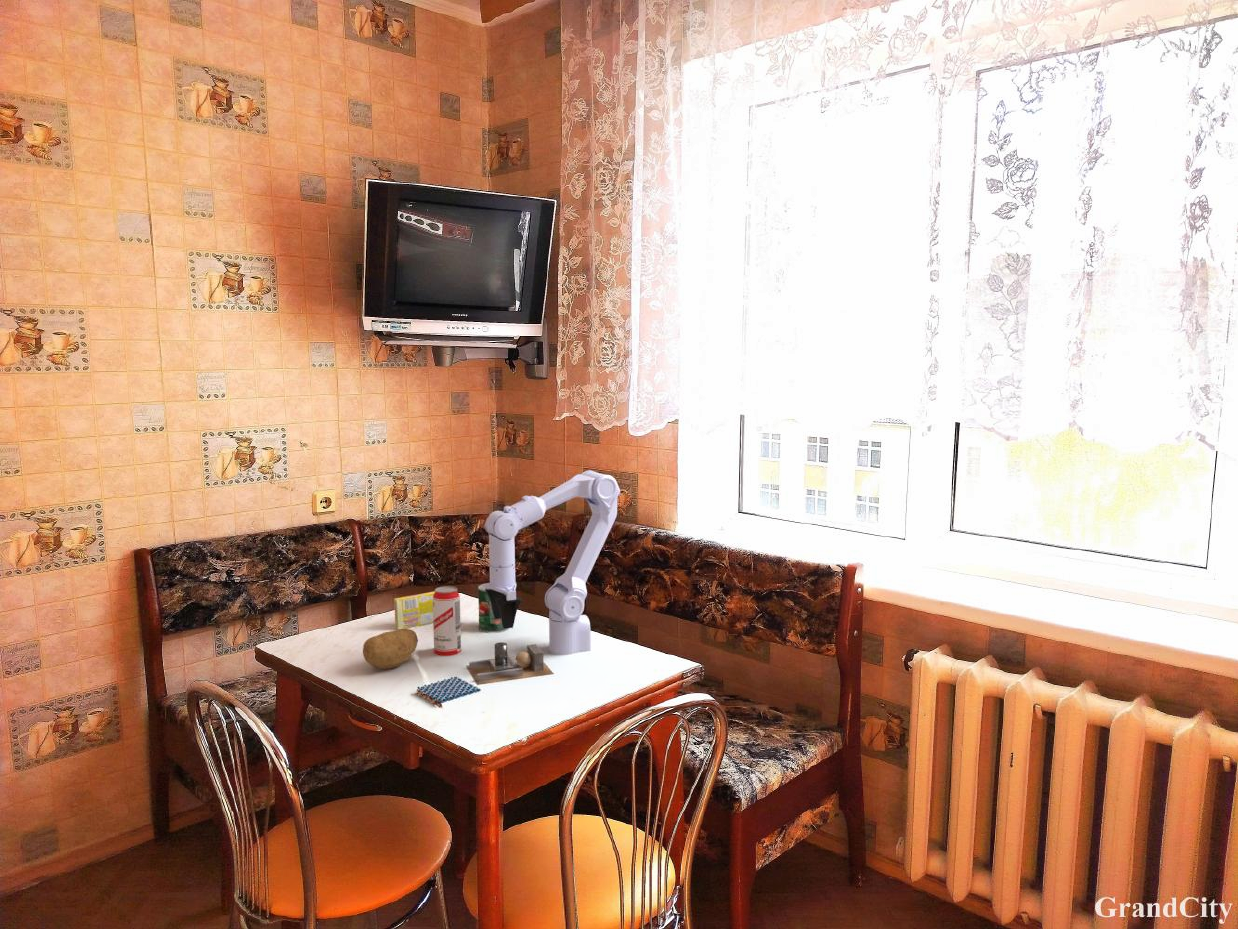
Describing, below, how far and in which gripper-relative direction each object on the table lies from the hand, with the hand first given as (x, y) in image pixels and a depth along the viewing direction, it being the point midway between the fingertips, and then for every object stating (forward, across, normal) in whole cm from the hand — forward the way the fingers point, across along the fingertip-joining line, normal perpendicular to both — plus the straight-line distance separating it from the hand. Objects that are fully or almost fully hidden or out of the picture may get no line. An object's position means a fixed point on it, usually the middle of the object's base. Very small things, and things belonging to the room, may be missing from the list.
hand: (503, 623), depth 194 cm
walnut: (+9, +6, +2) cm, 11 cm away
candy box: (+10, -37, -11) cm, 40 cm away
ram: (+9, +6, -2) cm, 11 cm away
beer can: (+10, -11, -11) cm, 18 cm away
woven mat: (+10, +12, -15) cm, 22 cm away
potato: (+10, -9, -24) cm, 27 cm away
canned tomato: (+10, -27, +5) cm, 29 cm away
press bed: (+10, +6, -1) cm, 12 cm away
